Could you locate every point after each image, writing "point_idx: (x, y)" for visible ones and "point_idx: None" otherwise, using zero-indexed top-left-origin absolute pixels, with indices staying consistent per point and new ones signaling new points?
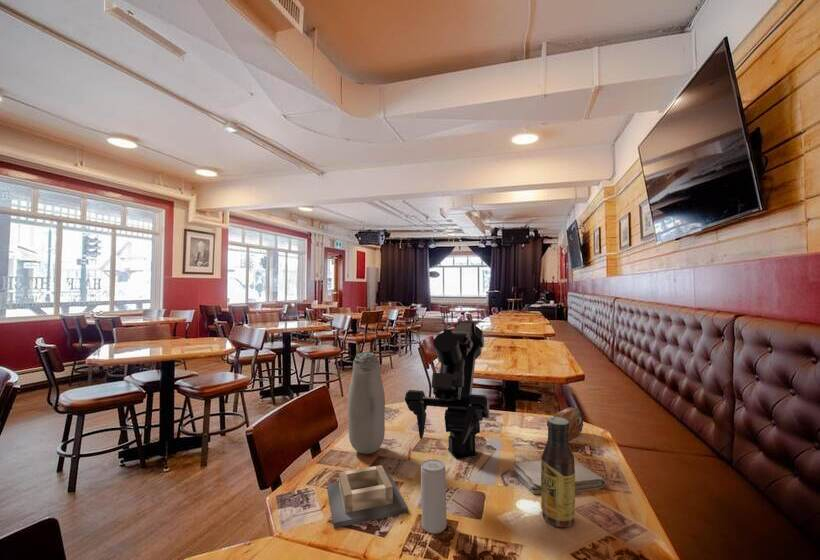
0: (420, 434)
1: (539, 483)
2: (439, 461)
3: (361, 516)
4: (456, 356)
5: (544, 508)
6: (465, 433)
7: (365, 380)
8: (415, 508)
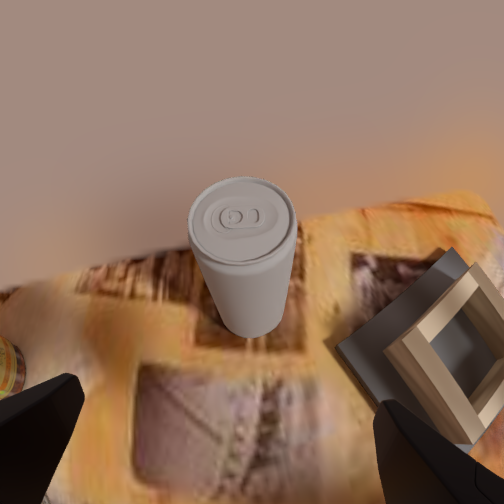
0: (394, 405)
1: None
2: (216, 258)
3: (422, 279)
4: None
5: (9, 353)
6: (29, 389)
7: None
8: (320, 373)
